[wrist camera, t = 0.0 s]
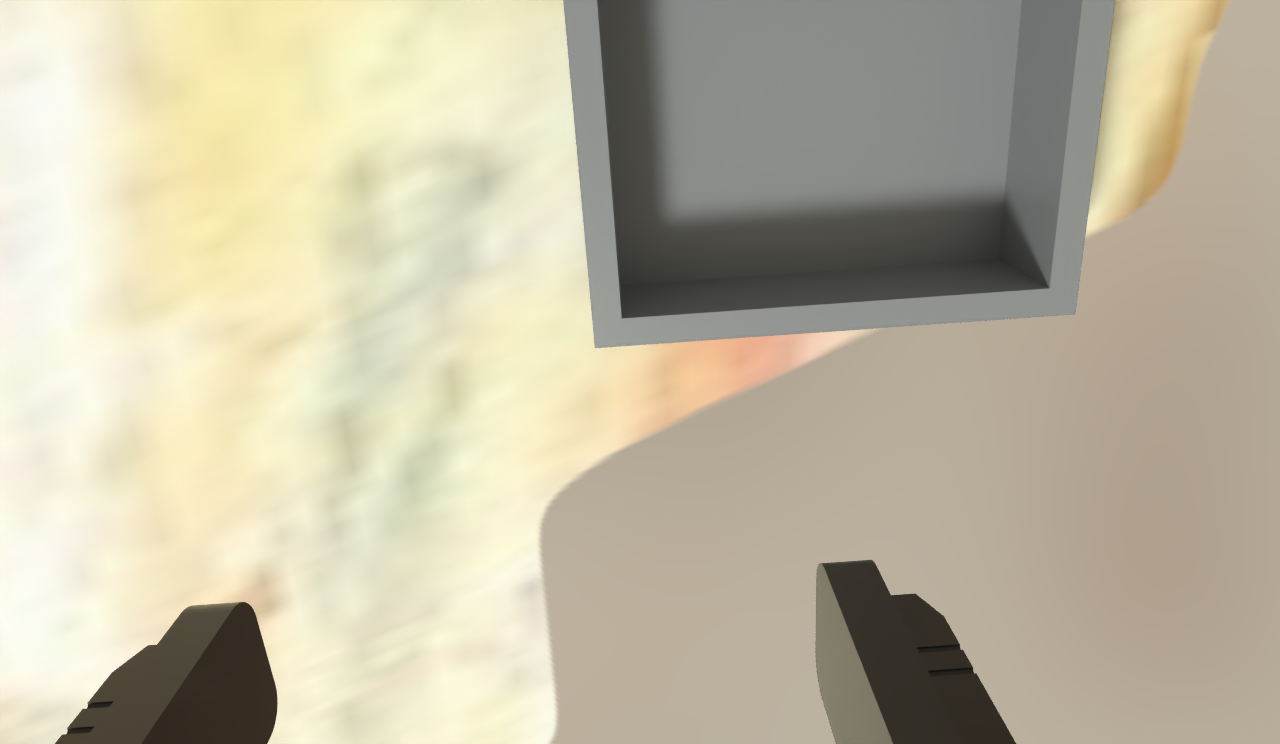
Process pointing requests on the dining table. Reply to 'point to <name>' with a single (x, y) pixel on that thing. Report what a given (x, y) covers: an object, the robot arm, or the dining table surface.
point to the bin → (832, 161)
